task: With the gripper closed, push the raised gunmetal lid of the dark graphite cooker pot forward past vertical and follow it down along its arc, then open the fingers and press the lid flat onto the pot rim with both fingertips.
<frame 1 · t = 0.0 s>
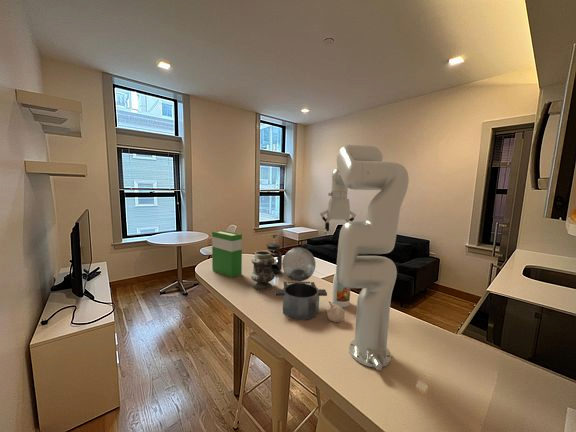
hand: (337, 230, 117), 31 cm above the breakfast bar, fingers open, 9 cm apart
french press: (273, 272, 147), on the breakfast bar
cooker pot: (300, 310, 102), on the breakfast bar
green tissue carton: (226, 272, 144), on the breakfast bar
garlic bulb: (335, 321, 95), on the breakfast bar
grey rounded vessel: (262, 286, 126), on the breakfast bar
cooker lid: (298, 265, 111), point 16 cm above the breakfast bar, hinge at 106.0°
milk bottle: (340, 304, 109), on the breakfast bar
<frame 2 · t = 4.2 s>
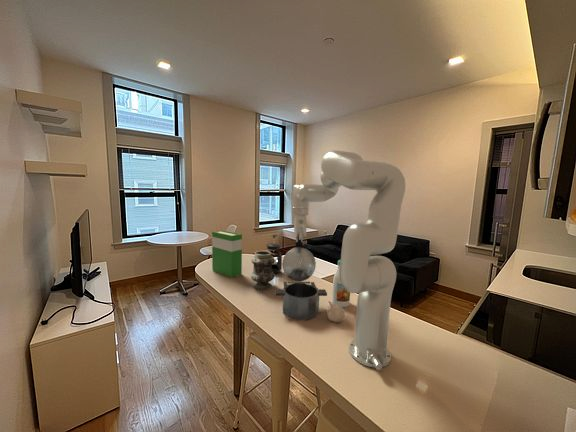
hand: (298, 250, 114), 22 cm above the breakfast bar, fingers closed
cooker lid: (298, 265, 111), point 16 cm above the breakfast bar, hinge at 102.7°, touching gripper
everything else where it was.
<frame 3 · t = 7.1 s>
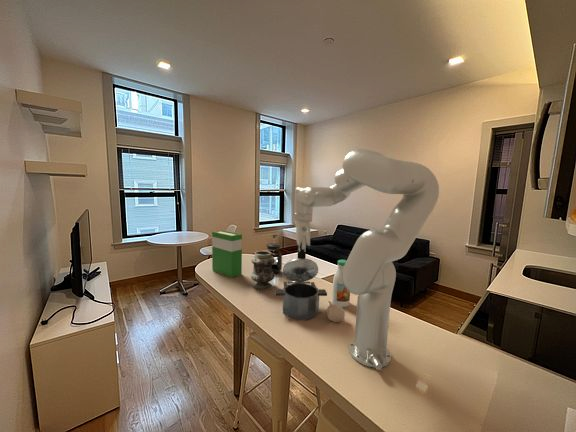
hand: (301, 260, 102), 21 cm above the breakfast bar, fingers closed
cooker lid: (300, 270, 105), point 16 cm above the breakfast bar, hinge at 56.6°, touching gripper
everything else where it was.
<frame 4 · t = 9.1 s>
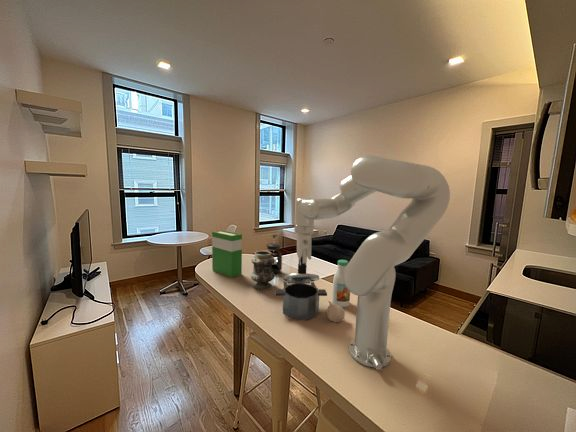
hand: (301, 273, 98), 17 cm above the breakfast bar, fingers closed
cooker lid: (300, 277, 102), point 14 cm above the breakfast bar, hinge at 31.1°, touching gripper
everything else where it was.
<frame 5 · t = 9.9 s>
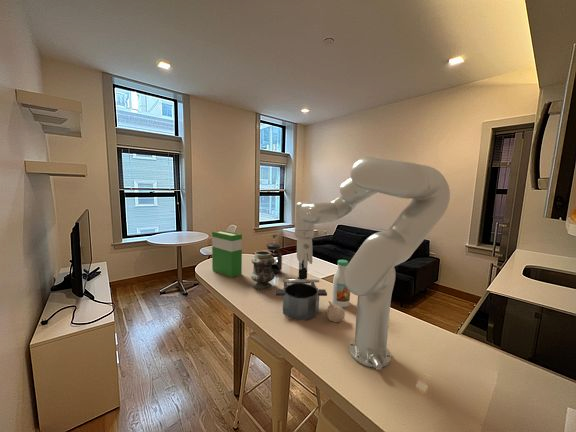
hand: (302, 278, 97), 15 cm above the breakfast bar, fingers closed
cooker lid: (301, 279, 102), point 13 cm above the breakfast bar, hinge at 22.9°
everything else where it was.
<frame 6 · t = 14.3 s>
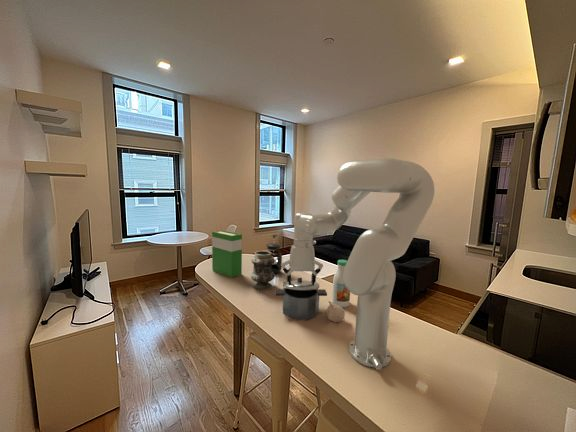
hand: (301, 283, 100), 12 cm above the breakfast bar, fingers open, 9 cm apart
cooker lid: (301, 283, 101), point 12 cm above the breakfast bar, hinge at 11.4°, touching gripper
everything else where it was.
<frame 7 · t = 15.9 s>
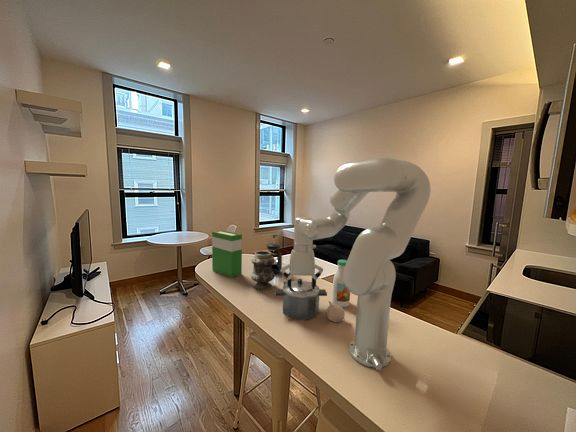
hand: (301, 287, 100), 10 cm above the breakfast bar, fingers open, 9 cm apart
cooker lid: (301, 287, 101), point 10 cm above the breakfast bar, hinge at 0.0°
everything else where it was.
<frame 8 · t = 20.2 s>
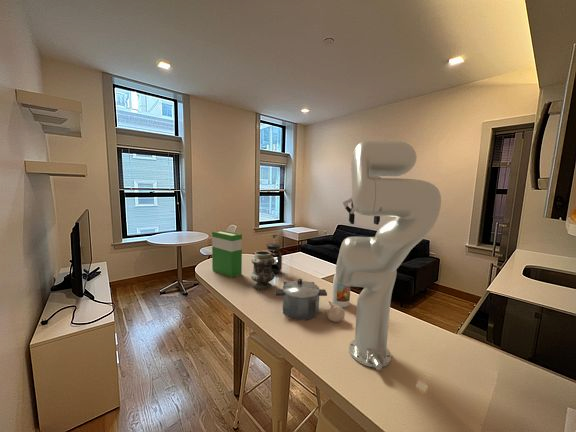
hand: (364, 223, 94), 38 cm above the breakfast bar, fingers open, 9 cm apart
nothing on the breakfast bar moved.
at the end: cooker lid at +0° (first picture: +106°) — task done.
